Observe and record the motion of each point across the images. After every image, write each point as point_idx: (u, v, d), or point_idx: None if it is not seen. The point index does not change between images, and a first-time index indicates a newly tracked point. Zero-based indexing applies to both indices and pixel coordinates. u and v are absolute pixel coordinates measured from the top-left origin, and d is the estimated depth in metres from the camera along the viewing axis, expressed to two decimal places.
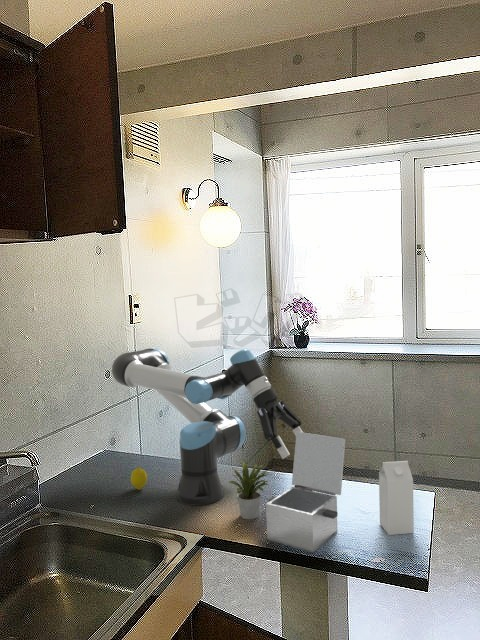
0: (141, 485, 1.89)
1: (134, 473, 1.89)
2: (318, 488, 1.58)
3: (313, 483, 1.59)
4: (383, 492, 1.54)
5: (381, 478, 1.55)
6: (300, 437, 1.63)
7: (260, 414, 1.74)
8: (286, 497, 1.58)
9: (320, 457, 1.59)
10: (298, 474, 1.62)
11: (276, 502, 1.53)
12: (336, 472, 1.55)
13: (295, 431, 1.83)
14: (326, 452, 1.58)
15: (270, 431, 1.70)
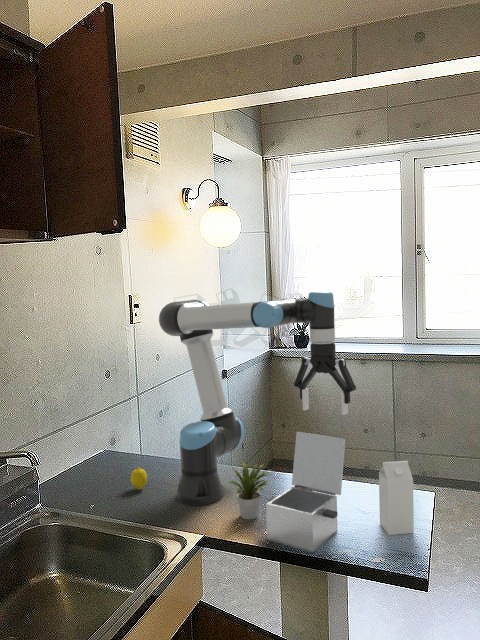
0: (141, 485, 1.89)
1: (134, 473, 1.89)
2: (318, 488, 1.58)
3: (313, 483, 1.59)
4: (383, 492, 1.54)
5: (381, 478, 1.55)
6: (300, 437, 1.63)
7: (343, 364, 1.66)
8: (286, 497, 1.58)
9: (320, 457, 1.59)
10: (298, 474, 1.62)
11: (276, 502, 1.53)
12: (336, 472, 1.55)
13: (305, 392, 1.74)
14: (326, 452, 1.58)
15: None
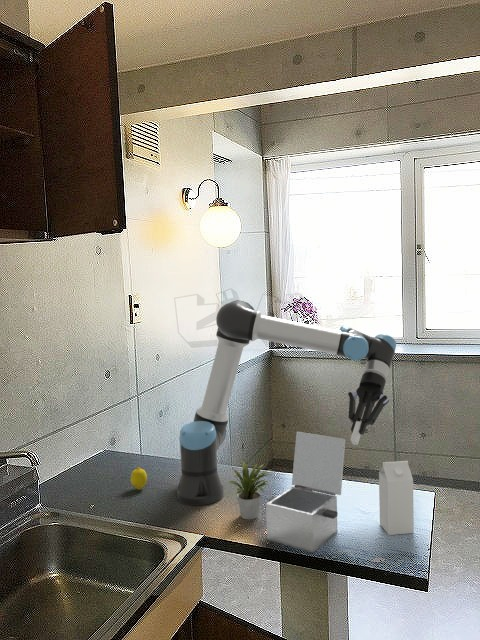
0: (141, 485, 1.89)
1: (134, 473, 1.89)
2: (318, 488, 1.58)
3: (313, 483, 1.59)
4: (383, 492, 1.54)
5: (381, 478, 1.55)
6: (300, 437, 1.63)
7: (384, 401, 1.71)
8: (286, 497, 1.58)
9: (320, 457, 1.59)
10: (298, 474, 1.62)
11: (276, 502, 1.53)
12: (336, 472, 1.55)
13: None
14: (326, 452, 1.58)
15: None
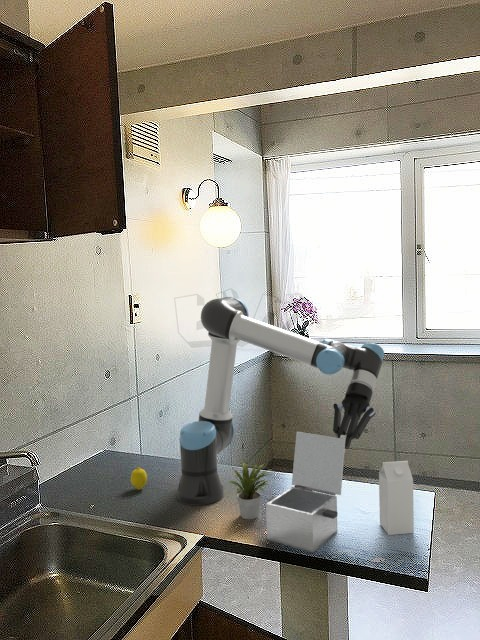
0: (141, 485, 1.89)
1: (134, 473, 1.89)
2: (318, 488, 1.58)
3: (313, 483, 1.59)
4: (383, 492, 1.54)
5: (381, 478, 1.55)
6: (300, 437, 1.63)
7: (370, 414, 1.62)
8: (286, 497, 1.58)
9: (320, 457, 1.59)
10: (298, 474, 1.62)
11: (276, 502, 1.53)
12: (336, 472, 1.55)
13: None
14: (326, 452, 1.58)
15: None
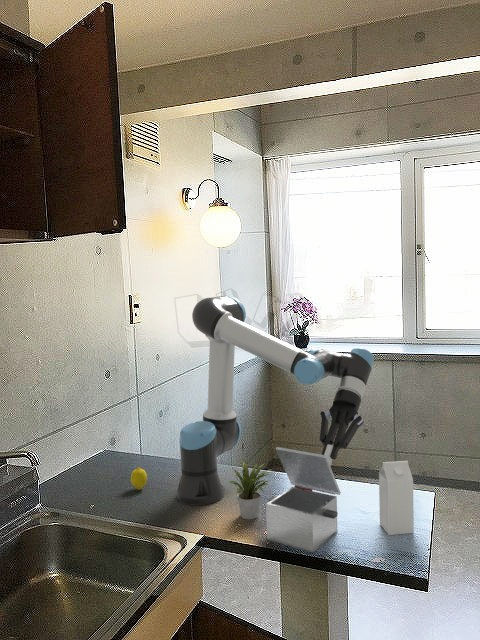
0: (141, 485, 1.89)
1: (134, 473, 1.89)
2: (317, 489, 1.57)
3: (311, 485, 1.58)
4: (383, 492, 1.54)
5: (381, 478, 1.55)
6: (281, 453, 1.55)
7: (358, 422, 1.56)
8: (286, 497, 1.58)
9: (308, 468, 1.53)
10: (294, 478, 1.60)
11: (276, 502, 1.53)
12: (329, 480, 1.52)
13: None
14: (312, 465, 1.51)
15: None
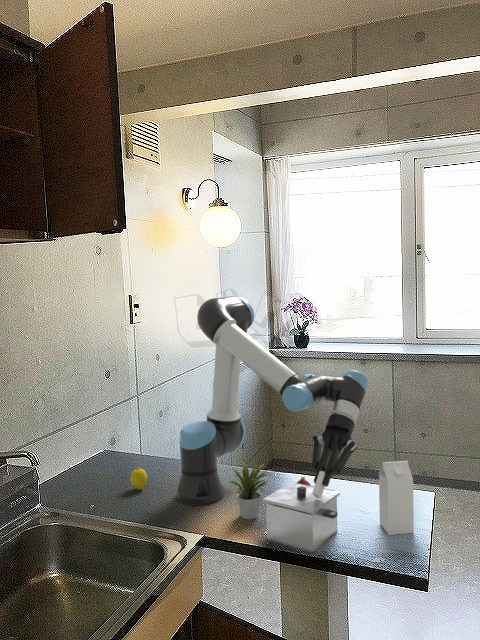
0: (141, 485, 1.89)
1: (134, 473, 1.89)
2: None
3: None
4: (383, 492, 1.54)
5: (381, 478, 1.55)
6: None
7: (351, 448, 1.52)
8: None
9: None
10: None
11: None
12: None
13: None
14: None
15: None
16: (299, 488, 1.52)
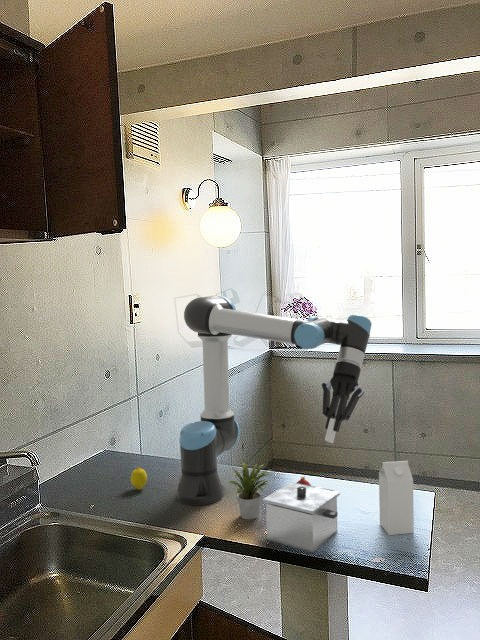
0: (141, 485, 1.89)
1: (134, 473, 1.89)
2: None
3: None
4: (383, 492, 1.54)
5: (381, 478, 1.55)
6: None
7: (359, 394, 1.61)
8: None
9: None
10: None
11: None
12: None
13: None
14: None
15: None
16: (299, 488, 1.52)
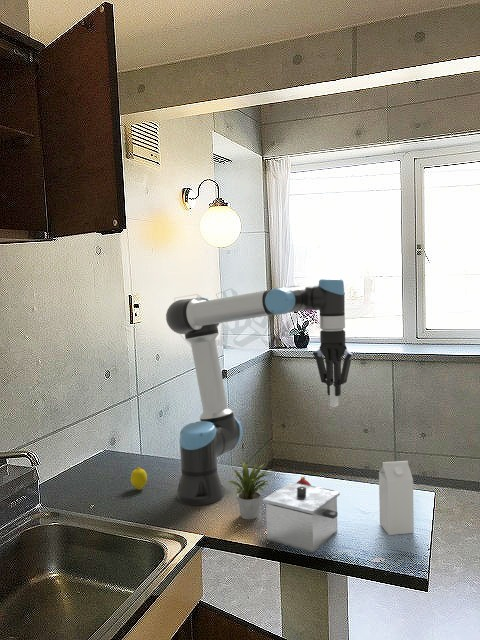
0: (141, 485, 1.89)
1: (134, 473, 1.89)
2: None
3: None
4: (383, 492, 1.54)
5: (381, 478, 1.55)
6: None
7: (349, 359, 1.67)
8: None
9: None
10: None
11: None
12: None
13: None
14: None
15: None
16: (299, 488, 1.52)
